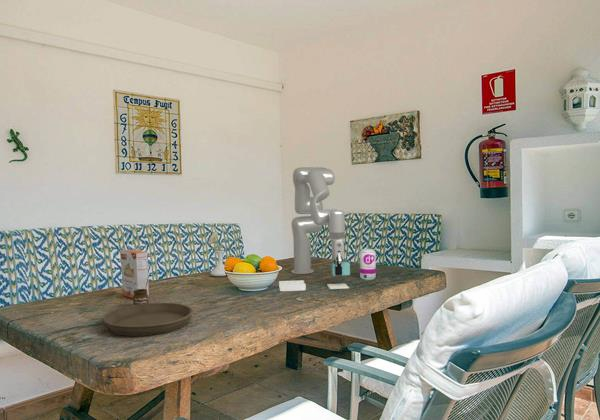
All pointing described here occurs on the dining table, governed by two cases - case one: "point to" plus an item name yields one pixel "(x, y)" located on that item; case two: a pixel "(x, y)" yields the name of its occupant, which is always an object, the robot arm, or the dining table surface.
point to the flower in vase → (220, 267)
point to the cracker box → (134, 271)
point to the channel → (292, 285)
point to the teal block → (344, 268)
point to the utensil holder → (140, 295)
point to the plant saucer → (147, 318)
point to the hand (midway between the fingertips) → (337, 273)
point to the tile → (337, 286)
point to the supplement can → (367, 264)
